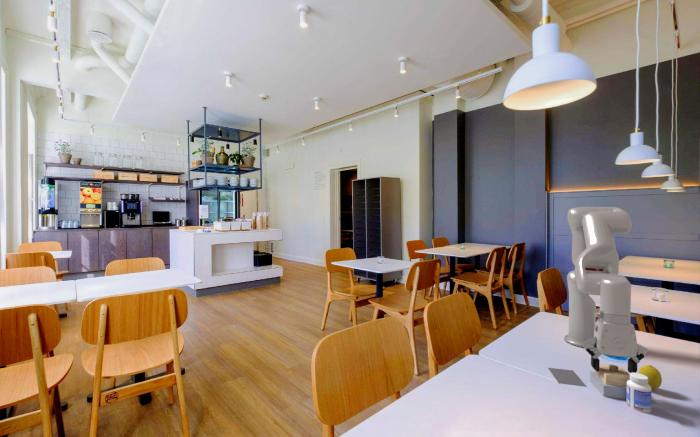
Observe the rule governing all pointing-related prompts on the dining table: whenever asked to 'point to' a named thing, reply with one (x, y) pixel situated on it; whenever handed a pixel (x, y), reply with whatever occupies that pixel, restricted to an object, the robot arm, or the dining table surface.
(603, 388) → the grey square container
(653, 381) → the lemon
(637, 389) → the pill bottle
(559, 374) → the grey rectangular plate
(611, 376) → the lid
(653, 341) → the dining table surface
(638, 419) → the dining table surface
